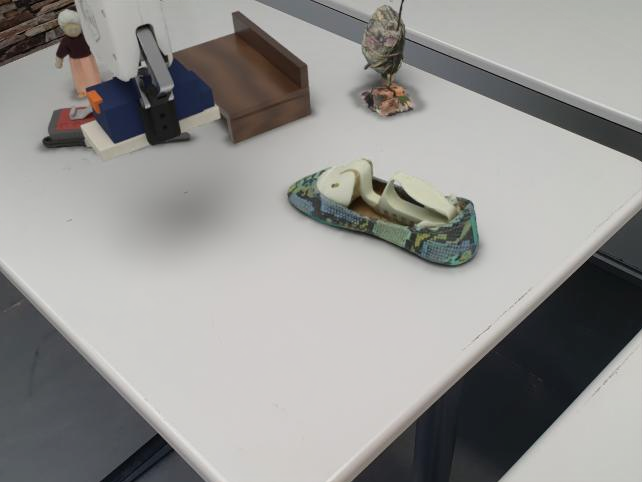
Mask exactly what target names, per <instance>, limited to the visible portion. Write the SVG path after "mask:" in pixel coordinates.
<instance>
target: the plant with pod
mask: <svg viewBox="0 0 642 482" xmlns="http://www.w3.org/2000/svg"><path fill="white" fill-rule="evenodd" d="M389 2H390V3H393V2H394V1H393V0H389ZM404 2H405V0H401V3H400V6H399V9H398V10H399V11H398V12H397V11H396V10H395V9H394V8H392V6H390V5H389V4H388V5H387V4H383V5H381V6H380V7H377V8H376V10H374V12H373V13H372V15H371V17H370V19H369V20H368V22H367V24H366V26H365V27H364V30H363V31H364V32H363V35H362V40H361V54H362V56H363V57H364V59H365V60H366V62H367V63H366V64H365V65H364V66H363V70H364V71H367V70H368V69H373V71H375V72H376V73H377V74H380V81H381V82H380V83H381V86H379V85H376V86H374V87H372V88H371V90H370V91H367V90H366V91H363V92H362V93H361V95H360V99H362V100H363V101H365V103H362V106H365V107H366V108H367V109H368V108H370V110H371V111H374V112H376V113H377V114H378V115H379V116H381V117H382V116H383V117H386V118H389V116H392V115H393V114H397V113H400V112H401V113H403V112H405V113H407V112H410V111H414V107H413V106H414V105H413V104H414V103H413V101H412V98H411V94H410V93H406V90H407V88H406V87H405V88H404V87H402V86H400V85H399V84H397V83H395V82H394V79H395V77H396V75H397V73H398V72H399V70H400V68H401V67H402V64H403V63H402V62H403V60H404V58H405V57H404V51H405V50H404V49H405V45H406V33H407V30H406V25H405V23H404V21H403V18H402V14H403V13H402V12H403V5H404Z"/></svg>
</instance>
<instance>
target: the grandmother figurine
mask: <svg viewBox="0 0 642 482" xmlns="http://www.w3.org/2000/svg"><path fill="white" fill-rule="evenodd" d="M57 23H58V25H59V28H60V29H62V31H63V33H64V34H65V35H66V36H63V37H62V38H61V40H60V42H59V44H58V47H57V48H56V49H57V50H56V52H55V62H54V67H55V68H56V69H59V70H61V69H62V68H63V67H64V65H63V63H64V59H65V58H66V57H67V56H68V62H69V63H68V64H69V67H70V68H69V69H70V72H71V76H72V80H73V83H74V88H75V90H76V93H77V97H78V99H79V98H80V99H82V98H85V97H87V94H86V93H87V92H86V88H87V87H90V86H93V85H96V84H99V83H102V82H103V81H102V78H101V74H100V71H99V67H98V64H97V61H96V58H95V56H94V55H95V54H94V52H93V51H92V50H91V48H90V47H89V45H88V44H87V42H86V40H85V37H84V34H83V32H82V27H81V24H80V20H79V16H78V13H77V11H75V10H71V9H69V8H67V9H64V10H63V11H62V10H61V12H59V13H58V16H57Z"/></svg>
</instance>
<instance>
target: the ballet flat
mask: <svg viewBox="0 0 642 482" xmlns="http://www.w3.org/2000/svg"><path fill="white" fill-rule="evenodd" d="M395 181H396V182H397V183H398V184H399V185H398V184H397V183H396V184H395ZM286 195H287V198H288V200H289V202H290V203H291V204H292V205H293V206H294V207H295V208H296V209H298V210H299V211H301V212H302V213H304V214H305V215H306V216H308V217H310V218H312V219H314V220H316V221H318V222H320V223H323V224H325V225H330V226H334V227H339V228H342V229H343V228H344V229H349V230H352V231H357V232H361V233H365V234H368V235H372V236H373V237H377V238H381V239H383V240H384V241H387V242H389V243H392V244H393V245H397V246H399V247H400V248H403V249H405V250H406V251H408V252H410V253H413V254H414V255H416V256H418V257H420V258H422V259H425V260H427V261H429V262H432V263H437V264H441V265H445V266H459V265H462V264H464V263H466V262H467V261H469V260H471V259H472V258H473V257H474V256H475V255H476V253H477V251H478V249H479V245H480V244H479V243H480V236H479V232H478V224H477V215H476V214H477V213H476V210H475V205H474V203H473V201H472V200H470V199H467V198H465V197H461V196H460V197H459V196H458V195H457V193H451V194H450V195H444V194H443V193H442V191H440V190H439V188H436V187H435V186H434V185H432V184H431V183H429V182H428V181H425V180H424V179H422V178H419V177H415V176H411V175H408V174H405V173H403V172H400V171H399V172H398V171H397V172H396V173H394V174H393V175H392V176H391V177H390V179H389V180H388V181H387V180H385V179H382V178H379V177H377V176H374V165H373V161H372V159H370V158H369V157H364V158H360V159H355V160H353V161H351V162H349V163H347V164H344V165H343V164H342V165H340V164H339V165H335V166H331V167H326V168H323V169H321V170H320V171H317V172H314V173H311V174H308V175H306V176H304V177H302V178H300V179H299V180H297V181H296V182H293V183H292V184H291V186H289V188H288V189H287V193H286Z"/></svg>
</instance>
